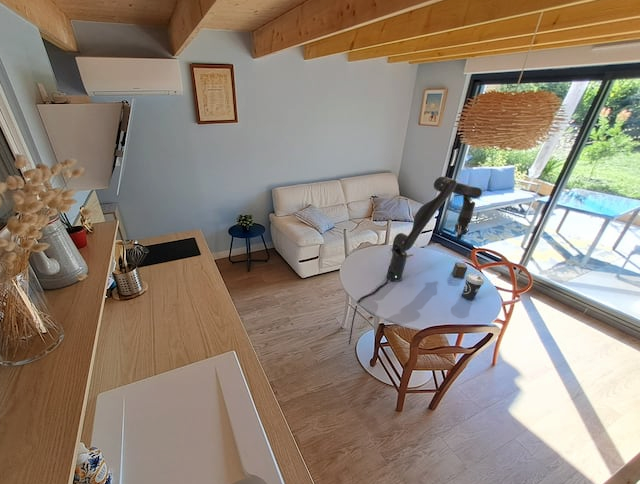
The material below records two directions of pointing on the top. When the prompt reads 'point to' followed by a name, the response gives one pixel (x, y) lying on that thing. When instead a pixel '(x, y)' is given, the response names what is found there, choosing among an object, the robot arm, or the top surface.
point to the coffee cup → (472, 286)
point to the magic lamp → (407, 255)
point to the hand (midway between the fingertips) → (458, 239)
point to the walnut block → (459, 270)
